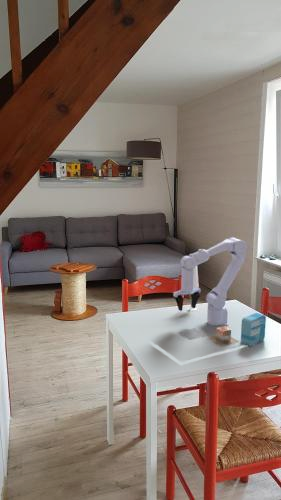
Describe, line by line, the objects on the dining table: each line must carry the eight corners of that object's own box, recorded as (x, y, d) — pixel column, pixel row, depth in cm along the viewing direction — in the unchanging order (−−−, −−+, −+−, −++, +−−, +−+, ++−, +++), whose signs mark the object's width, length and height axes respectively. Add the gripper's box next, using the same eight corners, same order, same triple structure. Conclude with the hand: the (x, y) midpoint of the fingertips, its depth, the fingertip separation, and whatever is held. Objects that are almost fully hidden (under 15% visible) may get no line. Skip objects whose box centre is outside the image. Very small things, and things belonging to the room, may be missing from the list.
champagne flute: (191, 306, 229) (192, 264, 224) (200, 309, 224) (201, 266, 219) (183, 309, 224) (183, 266, 220) (192, 312, 219) (193, 268, 215)
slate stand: (194, 330, 195) (194, 328, 194) (207, 338, 186) (207, 335, 186) (176, 334, 190) (176, 332, 189) (189, 342, 181) (189, 339, 181)
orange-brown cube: (223, 336, 185) (224, 326, 184) (230, 340, 181) (231, 329, 180) (215, 338, 182) (216, 328, 181) (222, 342, 178) (223, 331, 177)
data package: (249, 347, 176) (250, 321, 174) (240, 344, 180) (241, 318, 177) (264, 340, 184) (266, 314, 182) (255, 337, 187) (257, 311, 185)
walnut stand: (224, 336, 188) (224, 333, 188) (239, 344, 180) (239, 341, 179) (207, 340, 183) (207, 337, 183) (221, 348, 175) (221, 346, 175)
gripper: (179, 285, 187) (179, 314, 190) (205, 281, 194) (204, 308, 197) (171, 282, 193) (170, 309, 196) (195, 278, 200) (195, 304, 203)
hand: (186, 309), depth 197 cm, fingers open, 7 cm apart
